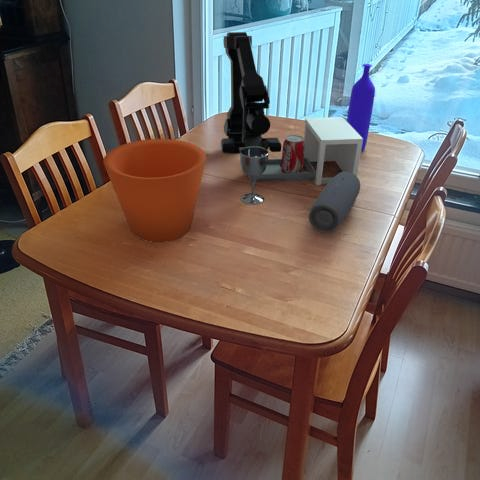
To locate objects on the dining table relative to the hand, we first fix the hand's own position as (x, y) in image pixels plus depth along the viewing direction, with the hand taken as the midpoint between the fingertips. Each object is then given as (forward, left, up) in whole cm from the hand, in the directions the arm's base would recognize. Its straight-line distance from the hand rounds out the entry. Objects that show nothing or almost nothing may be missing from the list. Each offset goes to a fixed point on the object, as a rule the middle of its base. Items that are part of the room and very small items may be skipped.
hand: (249, 169), depth 156 cm
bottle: (+42, +19, -2) cm, 46 cm away
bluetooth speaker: (+19, -30, -2) cm, 36 cm away
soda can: (+14, 0, -2) cm, 14 cm away
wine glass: (-2, -17, -2) cm, 17 cm away
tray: (+11, 0, -2) cm, 11 cm away
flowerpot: (-29, -30, -2) cm, 42 cm away
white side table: (+26, 0, -2) cm, 26 cm away
